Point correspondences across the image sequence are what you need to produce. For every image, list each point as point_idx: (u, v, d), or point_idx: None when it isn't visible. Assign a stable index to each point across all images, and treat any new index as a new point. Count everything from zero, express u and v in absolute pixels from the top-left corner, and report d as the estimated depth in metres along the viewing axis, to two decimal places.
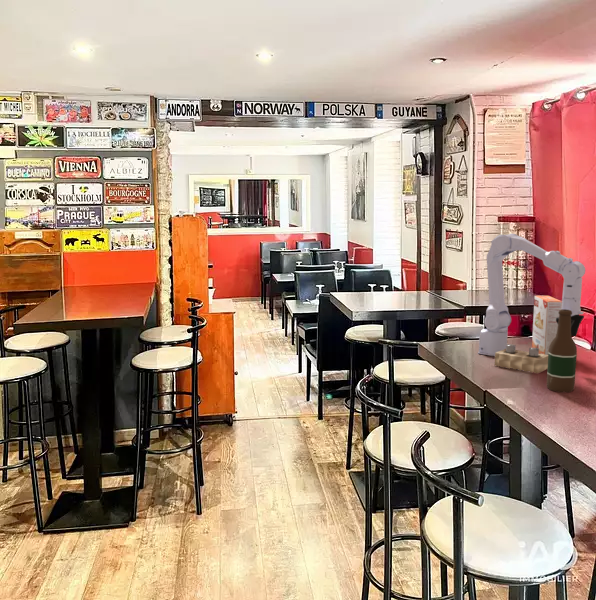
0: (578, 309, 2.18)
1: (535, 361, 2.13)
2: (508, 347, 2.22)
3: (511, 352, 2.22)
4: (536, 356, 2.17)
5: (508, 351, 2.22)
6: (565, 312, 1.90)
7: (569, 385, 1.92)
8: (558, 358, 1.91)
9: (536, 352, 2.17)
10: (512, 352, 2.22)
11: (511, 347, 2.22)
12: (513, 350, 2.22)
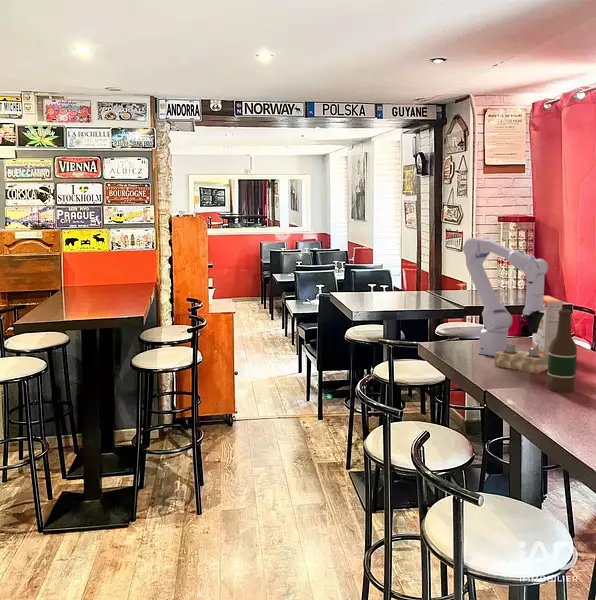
0: (541, 305, 2.23)
1: (535, 361, 2.13)
2: (508, 347, 2.22)
3: (511, 352, 2.22)
4: (536, 356, 2.17)
5: (508, 351, 2.22)
6: (565, 312, 1.90)
7: (569, 385, 1.92)
8: (558, 358, 1.91)
9: (536, 352, 2.17)
10: (512, 352, 2.22)
11: (511, 347, 2.22)
12: (513, 350, 2.22)
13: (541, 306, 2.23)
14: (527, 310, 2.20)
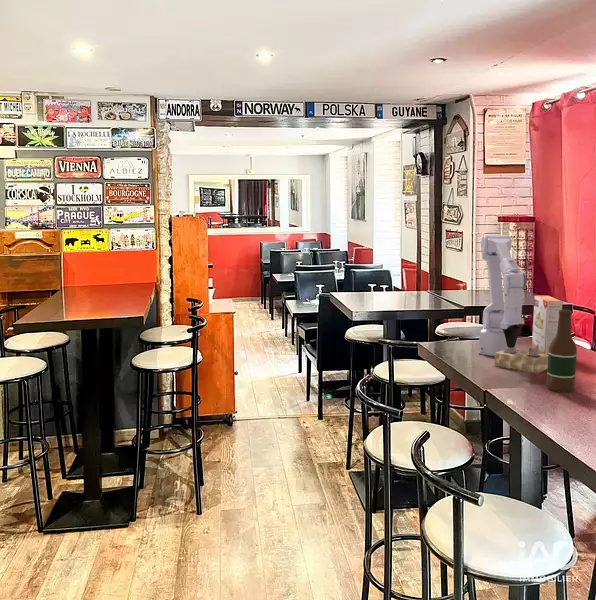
0: (519, 319, 2.19)
1: (535, 361, 2.13)
2: (508, 349, 2.22)
3: None
4: (536, 356, 2.17)
5: (508, 352, 2.22)
6: (565, 312, 1.90)
7: (569, 385, 1.92)
8: (558, 358, 1.91)
9: (536, 352, 2.17)
10: None
11: (511, 349, 2.22)
12: (513, 352, 2.22)
13: (519, 320, 2.19)
14: (504, 324, 2.16)
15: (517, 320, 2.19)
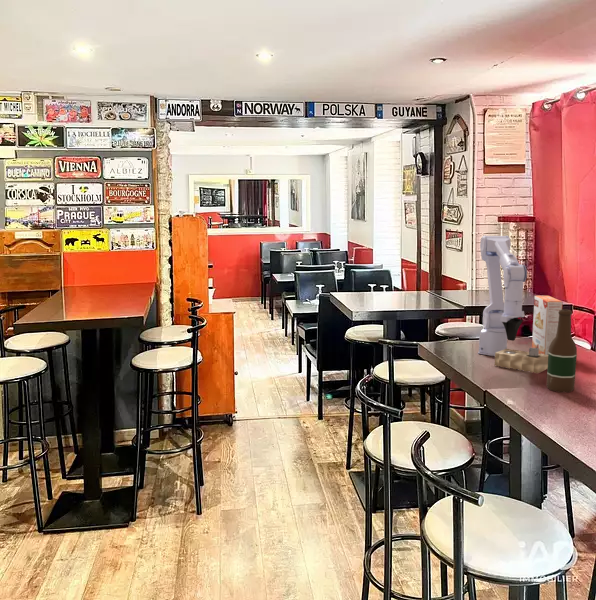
0: (519, 312, 2.19)
1: (535, 361, 2.13)
2: None
3: None
4: (536, 356, 2.17)
5: None
6: (565, 312, 1.90)
7: (569, 385, 1.92)
8: (558, 358, 1.91)
9: (536, 352, 2.17)
10: None
11: None
12: None
13: (519, 313, 2.19)
14: (505, 317, 2.16)
15: (517, 313, 2.19)
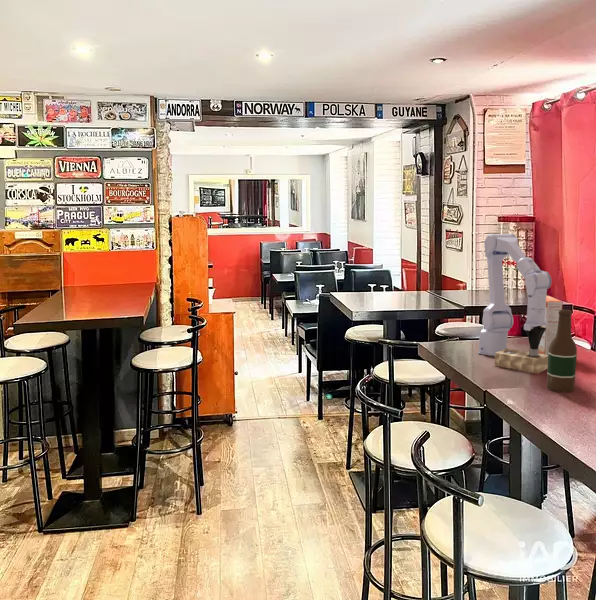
0: (543, 320, 2.14)
1: (535, 361, 2.13)
2: None
3: None
4: (536, 356, 2.17)
5: None
6: (565, 312, 1.90)
7: (569, 385, 1.92)
8: (558, 358, 1.91)
9: (536, 352, 2.17)
10: None
11: None
12: None
13: (543, 321, 2.14)
14: (528, 325, 2.11)
15: (541, 321, 2.14)
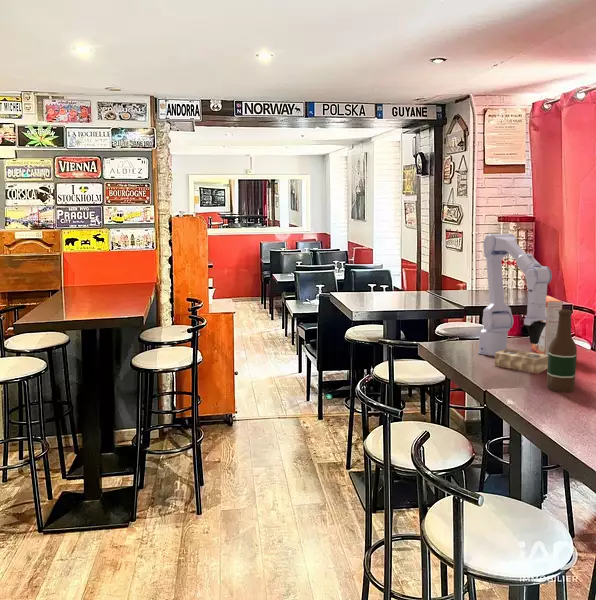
0: (543, 315, 2.14)
1: (535, 361, 2.13)
2: None
3: None
4: None
5: None
6: (565, 312, 1.90)
7: (569, 385, 1.92)
8: (558, 358, 1.91)
9: None
10: None
11: None
12: None
13: (543, 316, 2.14)
14: (528, 320, 2.11)
15: (541, 316, 2.14)
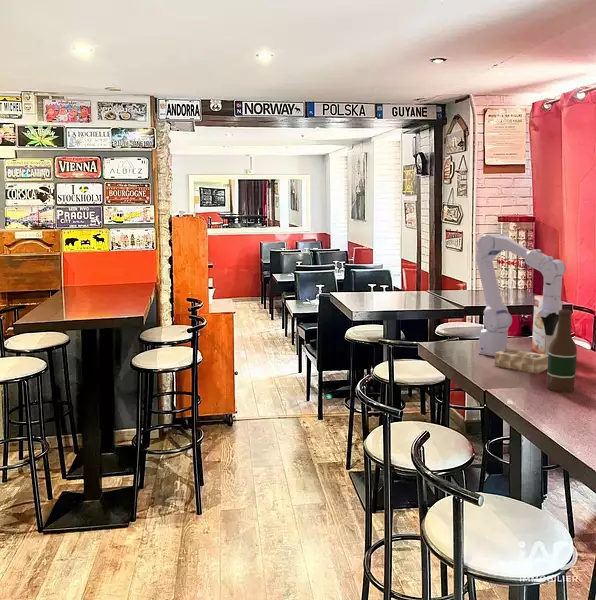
0: (558, 307, 2.19)
1: (535, 361, 2.13)
2: None
3: None
4: None
5: None
6: (565, 312, 1.90)
7: (569, 385, 1.92)
8: (558, 358, 1.91)
9: None
10: None
11: None
12: None
13: (558, 308, 2.19)
14: (544, 312, 2.16)
15: (556, 308, 2.19)
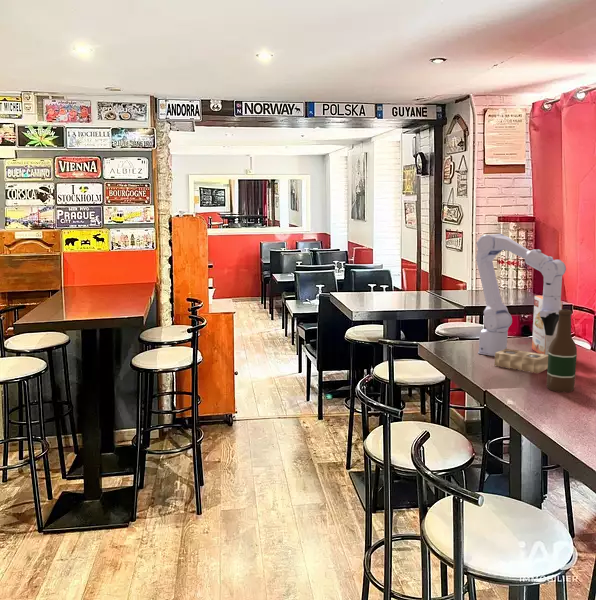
0: (558, 307, 2.19)
1: (535, 361, 2.13)
2: None
3: None
4: None
5: None
6: (565, 312, 1.90)
7: (569, 385, 1.92)
8: (558, 358, 1.91)
9: None
10: None
11: None
12: None
13: (558, 308, 2.19)
14: (544, 312, 2.16)
15: (556, 308, 2.19)
